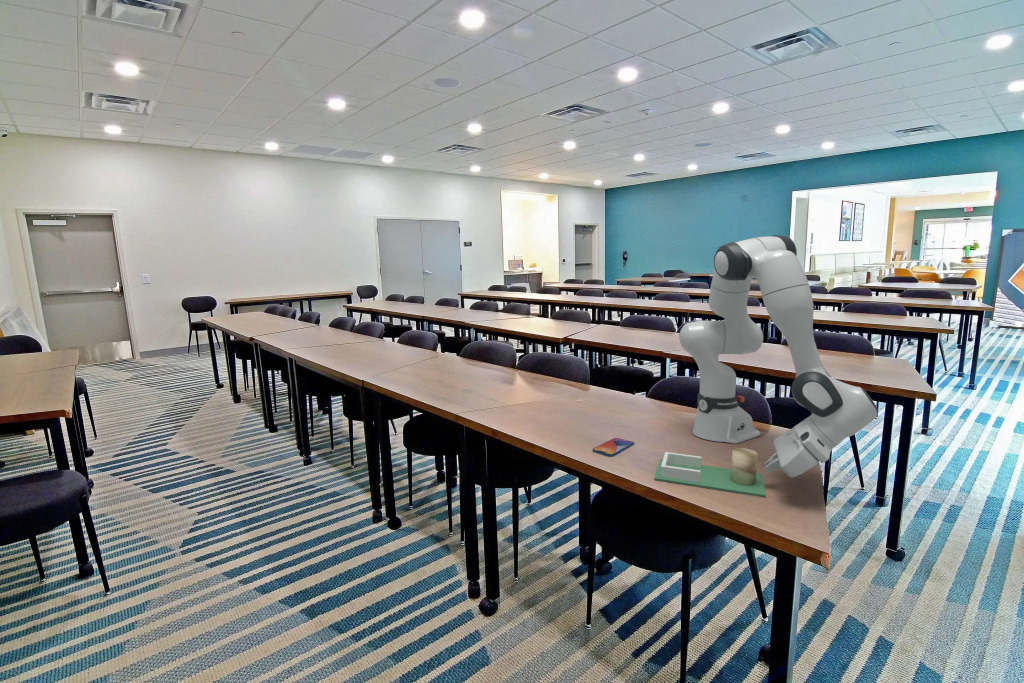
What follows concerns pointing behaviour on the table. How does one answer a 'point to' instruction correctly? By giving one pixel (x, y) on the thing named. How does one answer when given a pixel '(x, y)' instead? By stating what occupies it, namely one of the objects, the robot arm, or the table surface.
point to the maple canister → (744, 466)
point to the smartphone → (613, 447)
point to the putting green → (702, 475)
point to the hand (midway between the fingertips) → (765, 468)
